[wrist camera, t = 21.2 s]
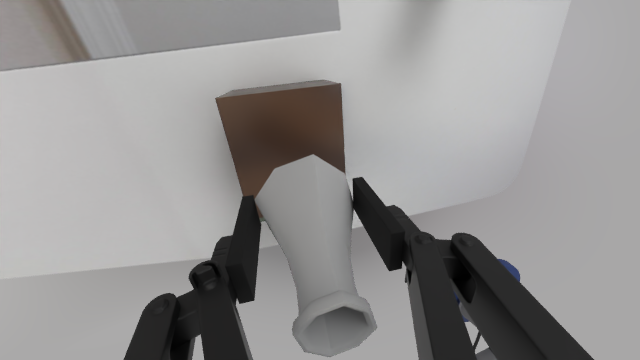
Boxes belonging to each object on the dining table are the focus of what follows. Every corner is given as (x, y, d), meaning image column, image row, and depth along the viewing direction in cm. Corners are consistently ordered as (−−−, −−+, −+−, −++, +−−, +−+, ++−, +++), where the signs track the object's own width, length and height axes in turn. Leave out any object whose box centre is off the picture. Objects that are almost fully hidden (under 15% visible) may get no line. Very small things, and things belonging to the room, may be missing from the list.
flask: (298, 251, 20) (317, 400, 11) (236, 197, 16) (190, 345, 8) (367, 202, 19) (450, 322, 10) (315, 135, 16) (368, 221, 7)
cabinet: (331, 173, 39) (346, 202, 30) (255, 185, 37) (250, 219, 29) (323, 79, 32) (341, 83, 24) (231, 90, 31) (215, 98, 22)
